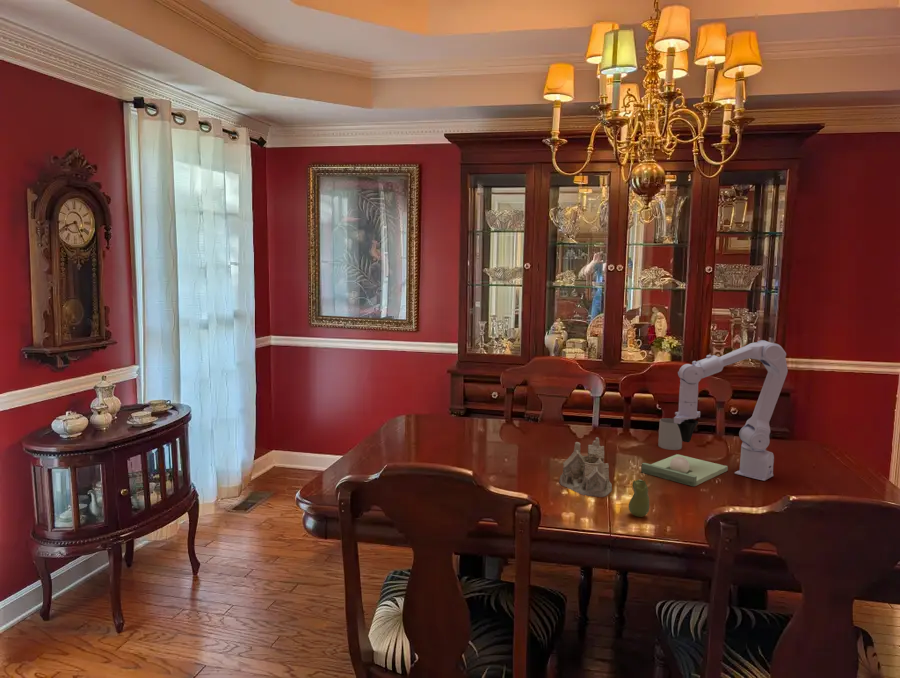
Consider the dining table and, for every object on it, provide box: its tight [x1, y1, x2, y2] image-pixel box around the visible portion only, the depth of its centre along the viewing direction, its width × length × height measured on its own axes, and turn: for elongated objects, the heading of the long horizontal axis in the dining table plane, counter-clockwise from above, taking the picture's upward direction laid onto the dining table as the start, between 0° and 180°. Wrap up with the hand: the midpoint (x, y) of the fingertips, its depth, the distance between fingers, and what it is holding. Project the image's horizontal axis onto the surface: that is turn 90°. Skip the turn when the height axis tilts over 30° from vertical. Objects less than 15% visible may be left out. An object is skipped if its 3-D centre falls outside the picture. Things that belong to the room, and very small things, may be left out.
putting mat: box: [640, 453, 729, 488], centre depth 207 cm, size 18×24×3 cm
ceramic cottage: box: [559, 437, 613, 498], centre depth 190 cm, size 16×16×15 cm
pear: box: [628, 479, 650, 518], centre depth 169 cm, size 6×5×10 cm
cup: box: [657, 417, 683, 451], centre depth 236 cm, size 8×8×10 cm
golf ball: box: [670, 457, 690, 473], centre depth 203 cm, size 6×6×6 cm
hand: (686, 441), depth 206 cm, fingers closed
